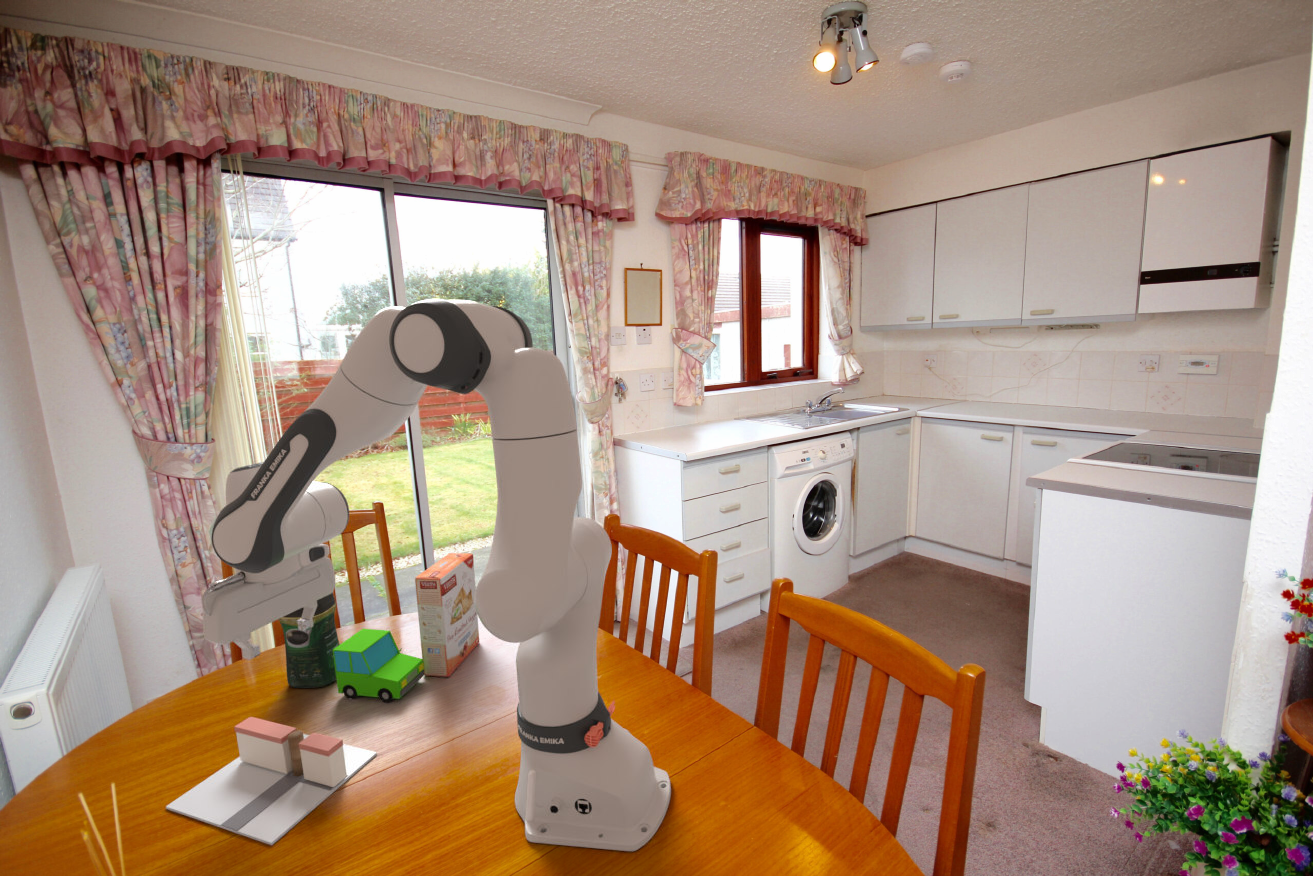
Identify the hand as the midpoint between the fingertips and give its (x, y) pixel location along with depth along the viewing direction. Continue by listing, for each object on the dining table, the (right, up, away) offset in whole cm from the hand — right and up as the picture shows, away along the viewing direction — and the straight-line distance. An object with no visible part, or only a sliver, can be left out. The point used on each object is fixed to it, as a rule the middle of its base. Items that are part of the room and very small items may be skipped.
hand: (280, 642), depth 95 cm
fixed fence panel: (+11, -19, -7) cm, 23 cm away
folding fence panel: (0, -18, -3) cm, 18 cm away
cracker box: (+19, -13, +27) cm, 36 cm away
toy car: (+9, -15, +17) cm, 25 cm away
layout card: (+3, -19, -6) cm, 20 cm away
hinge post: (+6, -19, -5) cm, 20 cm away
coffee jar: (-7, -15, +22) cm, 27 cm away
